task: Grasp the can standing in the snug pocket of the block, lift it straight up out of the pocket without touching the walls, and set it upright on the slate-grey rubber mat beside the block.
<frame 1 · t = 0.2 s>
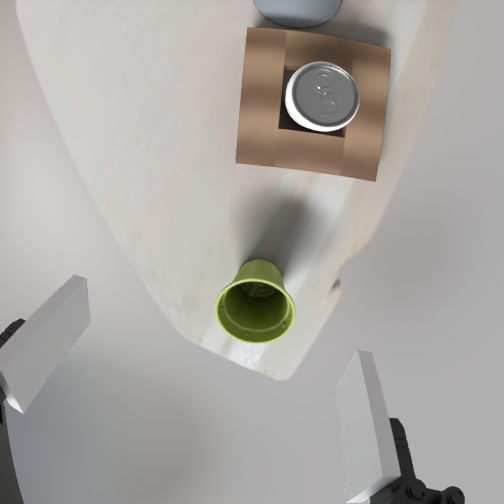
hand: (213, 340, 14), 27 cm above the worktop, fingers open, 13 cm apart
plant pot: (260, 277, 43), on the worktop
can: (312, 102, 33), resting in pocket block
pocket block: (312, 102, 33), on the worktop
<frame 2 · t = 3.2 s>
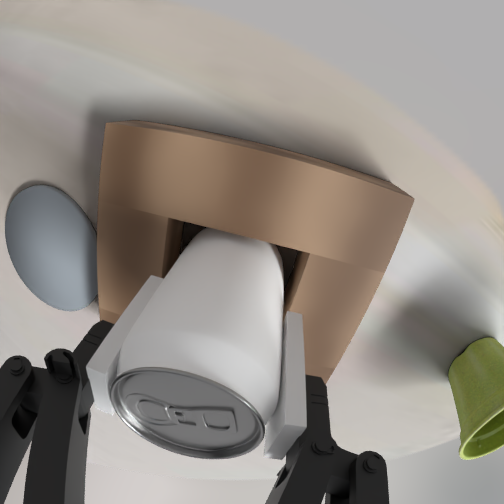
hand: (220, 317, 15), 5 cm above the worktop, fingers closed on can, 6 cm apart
slate mat: (50, 250, 21), on the worktop
plant pot: (473, 358, 22), on the worktop
can: (234, 265, 20), resting in pocket block, touching gripper
pocket block: (233, 266, 20), on the worktop
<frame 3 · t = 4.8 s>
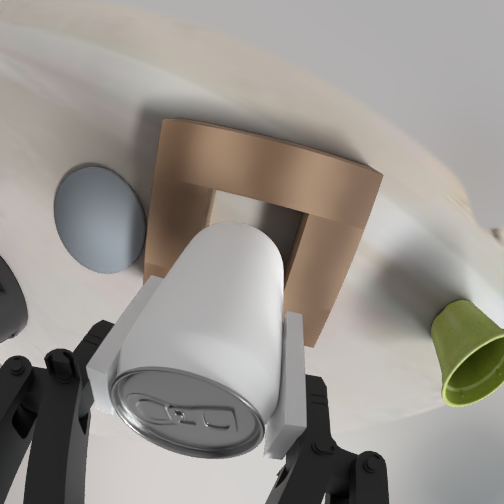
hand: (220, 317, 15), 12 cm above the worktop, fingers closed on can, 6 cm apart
slate mat: (97, 221, 28), on the worktop
plant pot: (452, 320, 28), on the worktop
can: (234, 265, 20), point 7 cm above the worktop, touching gripper
pocket block: (251, 230, 26), on the worktop
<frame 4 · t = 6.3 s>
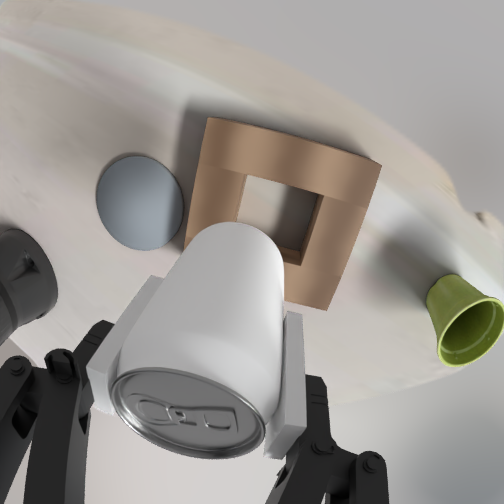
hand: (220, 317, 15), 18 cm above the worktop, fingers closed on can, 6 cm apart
slate mat: (138, 203, 33), on the worktop
plant pot: (445, 293, 34), on the worktop
can: (234, 265, 20), point 13 cm above the worktop, touching gripper
pocket block: (275, 210, 32), on the worktop
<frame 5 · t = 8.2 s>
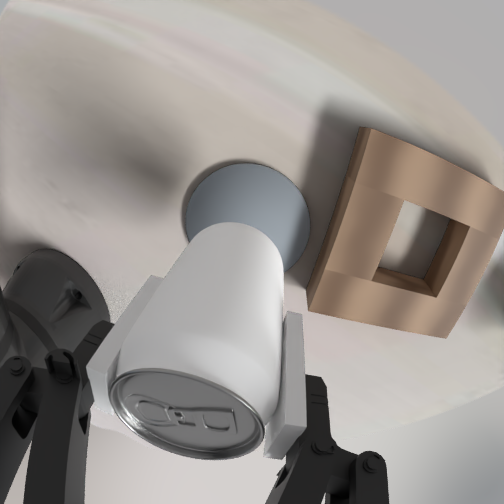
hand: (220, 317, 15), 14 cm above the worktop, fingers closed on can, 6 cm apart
slate mat: (247, 224, 27), on the worktop
can: (234, 265, 20), point 8 cm above the worktop, touching gripper
pocket block: (409, 237, 26), on the worktop
when the fingers open (7 cm above the worktop, at t = 9.6 s): can drops 1 cm, resting on slate mat.
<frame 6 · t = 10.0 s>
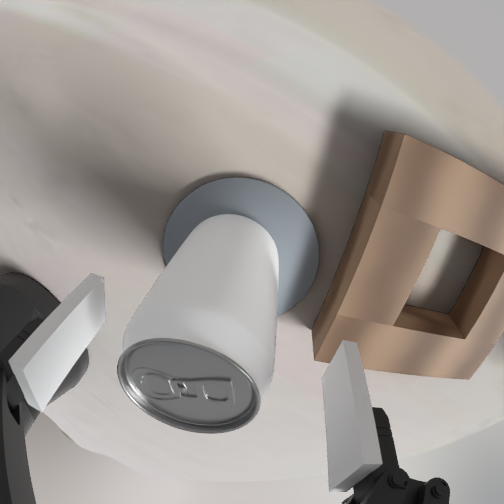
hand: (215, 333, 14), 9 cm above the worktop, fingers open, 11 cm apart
slate mat: (239, 254, 22), on the worktop
can: (232, 255, 21), resting on slate mat
pocket block: (437, 268, 21), on the worktop
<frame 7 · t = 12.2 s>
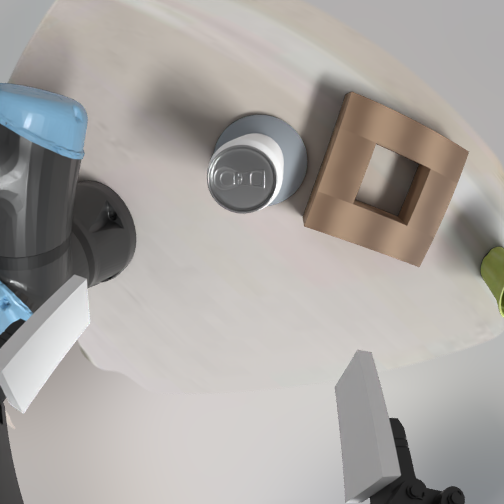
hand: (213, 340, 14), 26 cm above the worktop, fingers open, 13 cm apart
slate mat: (260, 160, 35), on the worktop
plant pot: (493, 262, 37), on the worktop
can: (255, 159, 35), resting on slate mat
pocket block: (384, 179, 34), on the worktop
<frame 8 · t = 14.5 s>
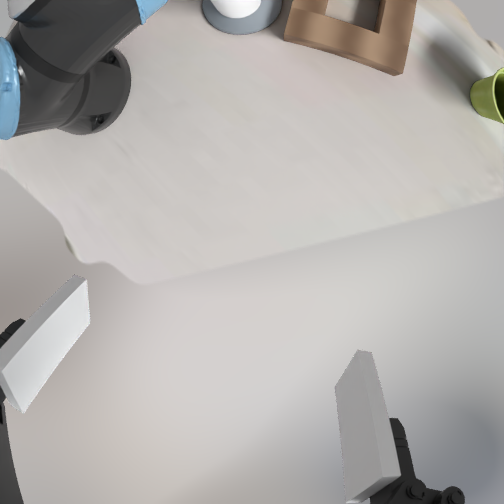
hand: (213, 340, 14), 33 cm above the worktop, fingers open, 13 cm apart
slate mat: (242, 2, 32), on the worktop
plant pot: (482, 98, 33), on the worktop
can: (238, 1, 32), resting on slate mat
pocket block: (351, 10, 31), on the worktop
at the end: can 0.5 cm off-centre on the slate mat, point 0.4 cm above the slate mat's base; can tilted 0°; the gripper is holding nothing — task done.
